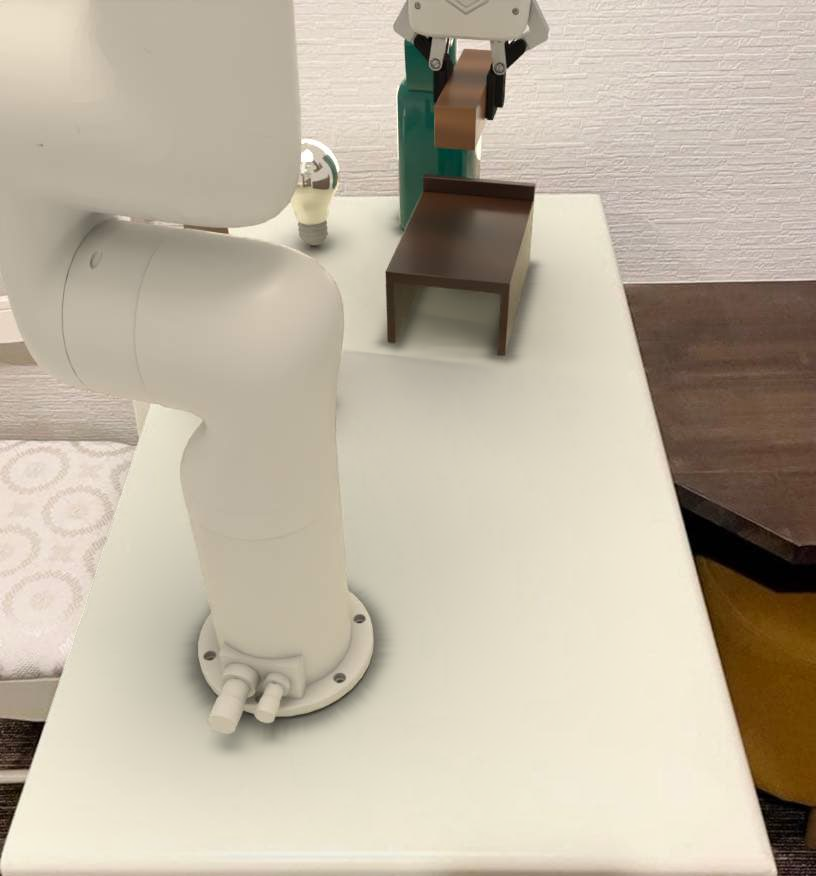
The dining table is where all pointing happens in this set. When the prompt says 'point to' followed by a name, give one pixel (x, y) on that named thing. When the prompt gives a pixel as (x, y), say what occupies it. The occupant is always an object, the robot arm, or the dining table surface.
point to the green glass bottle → (424, 134)
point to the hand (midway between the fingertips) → (468, 110)
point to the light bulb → (315, 191)
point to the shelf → (464, 246)
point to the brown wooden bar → (463, 102)
